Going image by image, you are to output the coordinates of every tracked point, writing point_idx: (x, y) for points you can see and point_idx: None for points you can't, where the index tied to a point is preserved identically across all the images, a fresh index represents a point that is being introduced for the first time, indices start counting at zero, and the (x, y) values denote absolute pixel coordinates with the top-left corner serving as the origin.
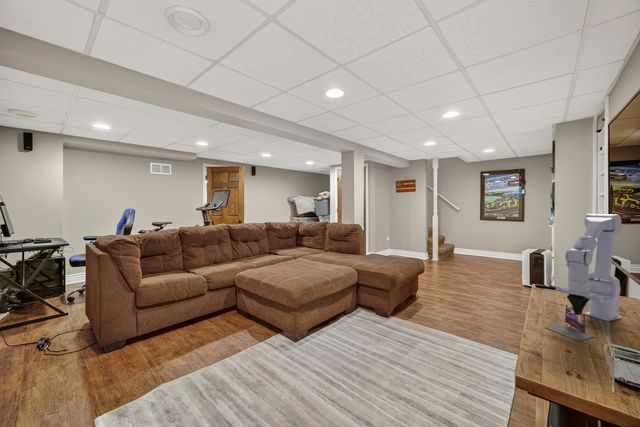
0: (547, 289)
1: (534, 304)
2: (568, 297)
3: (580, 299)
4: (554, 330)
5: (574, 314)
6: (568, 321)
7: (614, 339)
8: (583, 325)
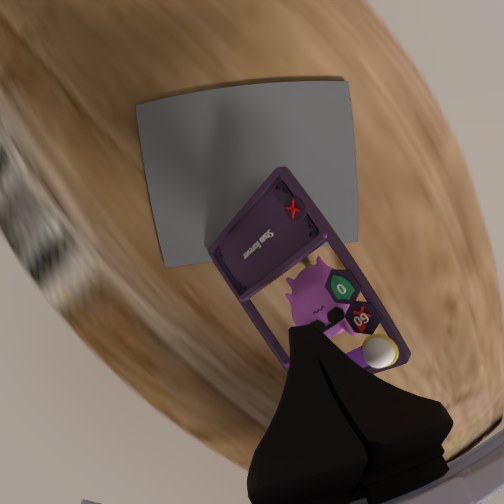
0: (483, 429)
1: (500, 327)
2: (427, 412)
3: (261, 477)
4: (292, 91)
5: (319, 325)
6: (279, 198)
7: (137, 331)
8: (244, 296)
